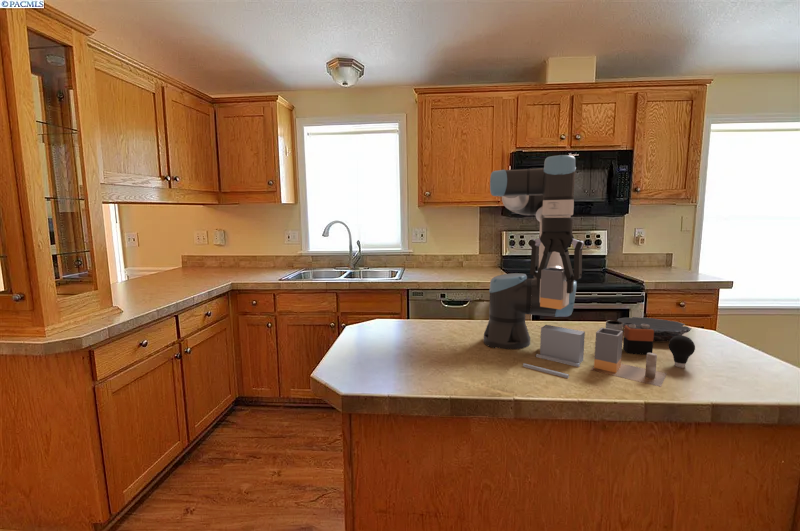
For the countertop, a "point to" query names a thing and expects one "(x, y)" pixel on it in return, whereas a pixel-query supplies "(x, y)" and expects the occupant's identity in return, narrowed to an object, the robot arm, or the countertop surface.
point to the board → (658, 327)
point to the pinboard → (639, 372)
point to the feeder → (560, 348)
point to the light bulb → (681, 349)
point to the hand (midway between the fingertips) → (553, 302)
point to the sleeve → (552, 288)
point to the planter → (614, 325)
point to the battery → (638, 339)
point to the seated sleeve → (608, 349)
